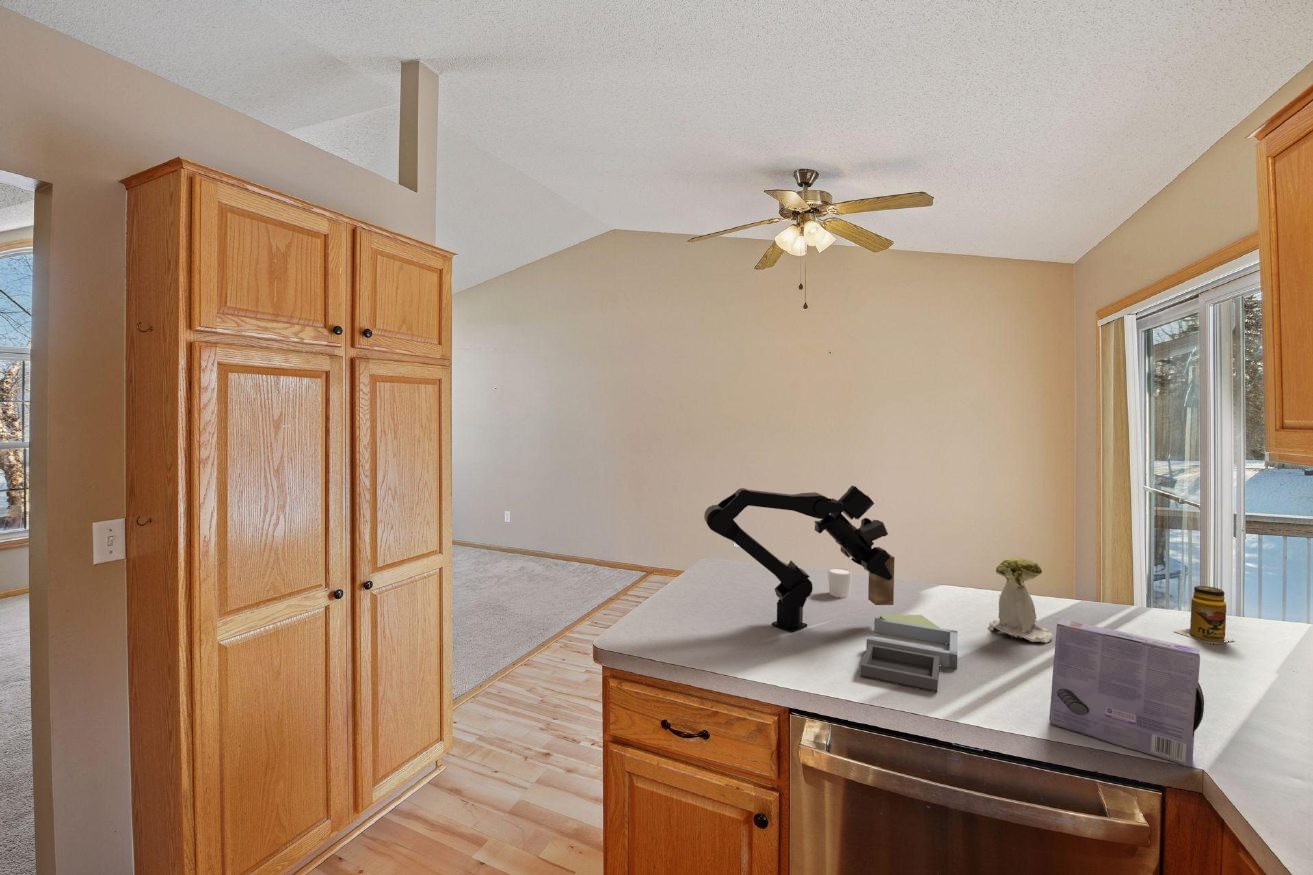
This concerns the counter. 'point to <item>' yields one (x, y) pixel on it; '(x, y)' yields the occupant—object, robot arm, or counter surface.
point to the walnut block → (882, 586)
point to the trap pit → (901, 667)
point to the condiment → (1207, 616)
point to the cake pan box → (1127, 690)
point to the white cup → (839, 582)
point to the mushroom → (1018, 601)
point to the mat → (910, 619)
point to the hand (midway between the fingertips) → (886, 576)
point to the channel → (918, 633)
